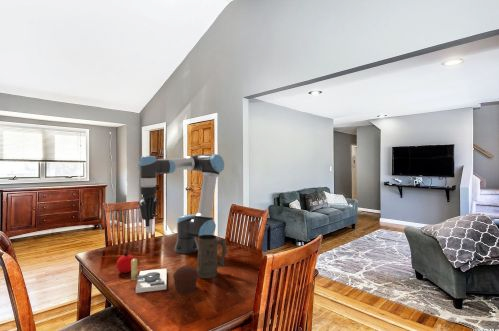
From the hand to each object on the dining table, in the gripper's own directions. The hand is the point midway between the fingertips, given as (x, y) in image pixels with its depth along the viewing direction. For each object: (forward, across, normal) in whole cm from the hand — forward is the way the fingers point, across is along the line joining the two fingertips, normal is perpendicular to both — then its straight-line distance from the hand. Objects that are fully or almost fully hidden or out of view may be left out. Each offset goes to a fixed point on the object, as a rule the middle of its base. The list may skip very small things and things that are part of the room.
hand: (149, 232), depth 137 cm
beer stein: (+23, -12, +29) cm, 39 cm away
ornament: (+22, 0, -14) cm, 27 cm away
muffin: (+22, +8, +25) cm, 35 cm away
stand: (+22, +6, +6) cm, 24 cm away
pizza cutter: (+20, +9, +5) cm, 22 cm away
